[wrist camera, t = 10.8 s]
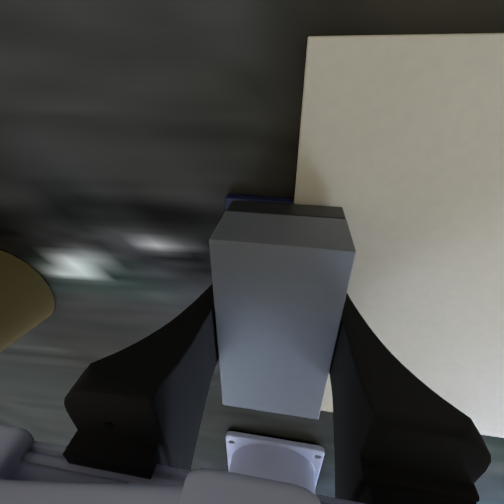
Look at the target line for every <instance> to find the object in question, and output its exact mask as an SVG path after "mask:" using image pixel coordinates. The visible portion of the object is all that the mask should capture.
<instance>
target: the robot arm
mask: <svg viewBox="0 0 504 504" xmlns="http://www.w3.org/2000/svg"><path fill="white" fill-rule="evenodd" d="M218 358H219V355H218V343H217V331H216V319H215V308H214V296H213V284H212V285H211V286H210V287H209V288H208V289H207V290H206V291H205V292H204V293H203V294H202V295H201V296H200V297H199V298H198V299H197V300H195V301H194V302H193V303H192V304H191V305H190V306H189V307H188V308H187V309H185V310H184V311H183V312H182V313H181V314H180V315H178V316H177V317H176V318H174V319H173V320H172V321H171V322H169V323H168V324H166V325H165V326H164V327H162V328H161V329H159V330H157V331H156V332H154V333H152V334H151V335H149V336H148V337H146V338H144V339H143V340H141V341H139V342H137V343H135V344H133V345H131V346H129V347H127V348H125V349H123V350H121V351H119V352H117V353H115V354H112V355H110V356H108V357H105V358H103V359H101V360H98V361H96V362H93V363H91V364H90V365H89V366H88V368H87V369H86V370H85V371H84V372H83V374H82V375H81V376H80V378H79V379H78V381H77V382H76V383H75V385H74V386H73V387H72V389H71V390H70V391H69V393H68V394H67V396H66V397H65V400H64V404H65V408H66V410H67V412H68V414H69V416H70V417H71V419H72V421H73V423H74V424H75V426H76V428H77V429H78V431H77V432H76V434H75V435H74V437H73V438H72V440H71V441H70V443H69V445H68V446H67V447H63V446H58V445H53V444H47V443H42V442H37V441H34V438H33V436H32V435H31V434H30V433H29V432H28V431H27V430H25V429H23V428H21V427H17V426H11V425H6V424H0V504H476V502H478V501H479V495H478V493H477V490H476V488H475V485H474V483H475V482H476V480H477V479H478V478H479V477H480V476H481V475H482V474H483V473H484V472H485V471H486V469H487V468H488V466H489V464H490V463H491V455H490V453H489V451H488V449H487V447H486V445H485V443H484V440H483V439H482V437H481V435H480V433H479V431H478V429H477V428H476V426H475V425H474V423H473V421H472V419H471V418H470V417H468V416H467V415H465V414H464V413H463V412H461V411H460V410H458V409H457V408H456V407H454V406H453V405H451V404H450V403H449V402H447V401H446V400H444V399H443V398H442V397H440V396H439V395H438V394H437V393H435V392H434V391H433V390H431V389H430V388H429V387H428V386H426V385H425V384H424V383H423V382H422V381H421V380H419V379H418V378H417V377H416V376H415V375H414V374H413V373H411V372H410V371H409V370H408V369H407V368H406V367H405V366H404V365H403V364H402V363H401V362H400V361H399V360H398V359H397V358H396V357H395V356H394V355H393V354H392V353H391V352H390V351H389V350H388V349H387V348H386V347H385V345H384V344H383V343H382V342H381V341H380V340H379V338H378V337H377V336H376V335H375V333H374V332H373V331H372V330H371V328H370V327H369V326H368V324H367V323H366V321H365V320H364V319H363V317H362V316H361V314H360V313H359V311H358V310H357V308H356V307H355V305H354V304H353V302H352V300H351V299H350V297H349V295H348V294H346V299H345V303H344V308H343V312H342V317H341V321H340V326H339V330H338V335H337V339H336V343H335V348H334V352H333V357H332V361H331V366H330V370H329V374H330V381H331V388H332V398H333V419H334V447H335V498H333V497H328V496H322V495H317V494H315V488H316V484H317V480H318V477H319V473H320V469H321V466H322V462H323V458H324V455H325V451H324V448H323V447H322V446H319V445H313V444H307V443H301V442H295V441H289V440H283V439H277V438H271V437H265V436H259V435H253V434H247V433H241V432H235V431H228V432H227V433H226V448H227V459H228V470H229V471H223V470H218V469H206V468H200V469H197V470H194V471H190V469H191V464H192V460H193V455H194V450H195V445H196V441H197V436H198V432H199V428H200V423H201V419H202V415H203V410H204V406H205V402H206V398H207V394H208V390H209V386H210V382H211V379H212V376H213V372H214V369H215V367H216V364H217V361H218Z"/></svg>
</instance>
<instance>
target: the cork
mask: <svg viewBox="0 0 504 504" xmlns="http://www.w3.org/2000/svg"><path fill="white" fill-rule="evenodd" d="M54 309H55V301H54V296H53V294H52V292H51V290H50V287H49V286H48V284H47V283H46V282H45V281H44V279H43V278H42V277H41V276H40V274H39V273H37V272H36V271H35V270H34V269H33V268H32V267H30V266H29V265H28V264H27V263H25V262H24V261H22V260H20V259H19V258H17V257H15V256H13V255H12V254H9V253H6V252H3V251H1V250H0V352H1V351H3V350H4V349H5V348H7V347H8V346H9V345H11V344H12V343H14V342H15V341H16V340H18V339H19V338H21V337H22V336H23V335H25V334H26V333H27V332H29V331H30V330H32V329H33V328H34V327H36V326H37V325H38V324H40V323H41V322H43V321H44V320H45V319H47V318H48V317H50V316H51V315H52V313H53V311H54Z"/></svg>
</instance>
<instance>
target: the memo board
mask: <svg viewBox="0 0 504 504" xmlns="http://www.w3.org/2000/svg"><path fill="white" fill-rule="evenodd" d="M294 204H302V205H318V206H335V207H342V208H343V211H344V214H345V218H346V220H347V223H348V226H349V230H350V233H351V236H352V240H353V243H354V247H355V250H356V254H355V258H354V263H353V267H352V272H351V276H350V281H349V285H348V290H347V294H348V295H349V297H350V299H351V300H352V302H353V304H354V305H355V307H356V308H357V310H358V311H359V313H360V314H361V316H362V317H363V319H364V320H365V321H366V323H367V324H368V326H369V327H370V328H371V330H372V331H373V332H374V333H375V335H376V336H377V337H378V338H379V340H380V341H381V342H382V343H383V344H384V345H385V347H386V348H387V349H388V350H389V351H390V352H391V353H392V354H393V355H394V356H395V357H396V358H397V359H398V360H399V361H400V362H401V363H402V364H403V365H404V366H405V367H406V368H407V369H408V370H409V371H410V372H411V373H413V374H414V375H415V376H416V377H417V378H418V379H419V380H421V381H422V382H423V383H424V384H425V385H426V386H428V387H429V388H430V389H431V390H433V391H434V392H435V393H437V394H438V395H439V396H440V397H442V398H443V399H444V400H446V401H447V402H449V403H450V404H451V405H453V406H454V407H456V408H457V409H458V410H460V411H461V412H463V413H464V414H465V415H467V416H468V417H470V418H471V419H472V421H473V423H474V425H475V426H476V428H477V429H478V431H479V433H480V434H481V435H488V436H494V437H501V438H504V33H469V34H407V35H345V36H308V38H307V50H306V62H305V75H304V87H303V99H302V111H301V123H300V135H299V148H298V160H297V172H296V184H295V196H294ZM321 410H322V411H328V412H333V398H332V388H331V381H330V374H329V375H328V379H327V384H326V388H325V393H324V397H323V402H322V406H321Z"/></svg>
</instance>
